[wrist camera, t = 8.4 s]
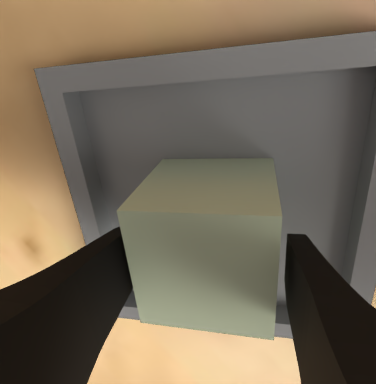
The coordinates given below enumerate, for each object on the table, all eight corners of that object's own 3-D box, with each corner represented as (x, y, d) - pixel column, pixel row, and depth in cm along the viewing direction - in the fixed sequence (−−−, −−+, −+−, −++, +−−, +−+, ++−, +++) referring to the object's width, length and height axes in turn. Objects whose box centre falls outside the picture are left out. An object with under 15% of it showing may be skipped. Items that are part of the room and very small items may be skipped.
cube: (273, 158, 12) (282, 216, 8) (268, 252, 14) (273, 339, 10) (162, 159, 13) (116, 210, 9) (173, 246, 15) (140, 322, 11)
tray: (406, 29, 10) (439, 24, 8) (349, 314, 16) (360, 346, 14) (63, 66, 13) (33, 68, 12) (120, 292, 19) (107, 316, 17)
